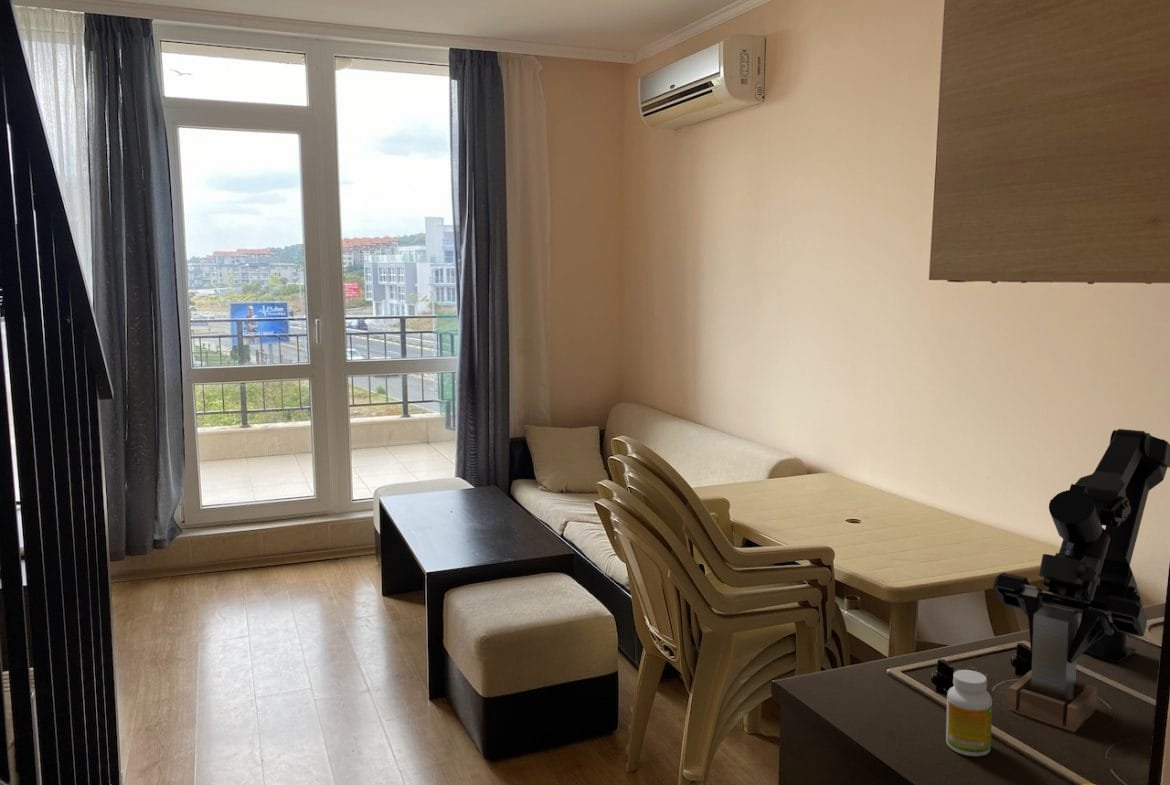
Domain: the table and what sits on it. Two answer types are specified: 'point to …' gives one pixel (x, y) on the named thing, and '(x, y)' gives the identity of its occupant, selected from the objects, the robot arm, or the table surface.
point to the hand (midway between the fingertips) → (1051, 656)
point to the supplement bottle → (969, 714)
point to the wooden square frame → (1052, 704)
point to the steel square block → (1054, 653)
